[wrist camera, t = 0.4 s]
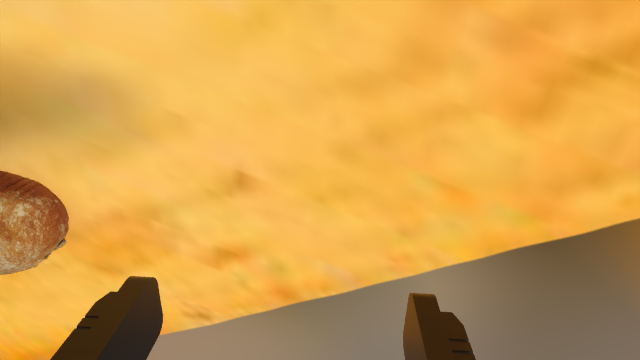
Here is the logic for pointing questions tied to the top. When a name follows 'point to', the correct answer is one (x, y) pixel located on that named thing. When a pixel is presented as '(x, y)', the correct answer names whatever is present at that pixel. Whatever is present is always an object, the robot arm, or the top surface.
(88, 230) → the top surface
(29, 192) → the bread roll
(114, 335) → the robot arm
